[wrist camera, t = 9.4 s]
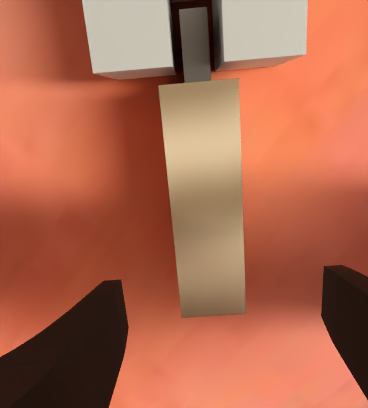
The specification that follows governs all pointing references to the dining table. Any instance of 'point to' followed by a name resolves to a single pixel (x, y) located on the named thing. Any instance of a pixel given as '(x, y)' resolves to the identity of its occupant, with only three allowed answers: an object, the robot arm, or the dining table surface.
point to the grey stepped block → (164, 42)
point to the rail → (204, 178)
